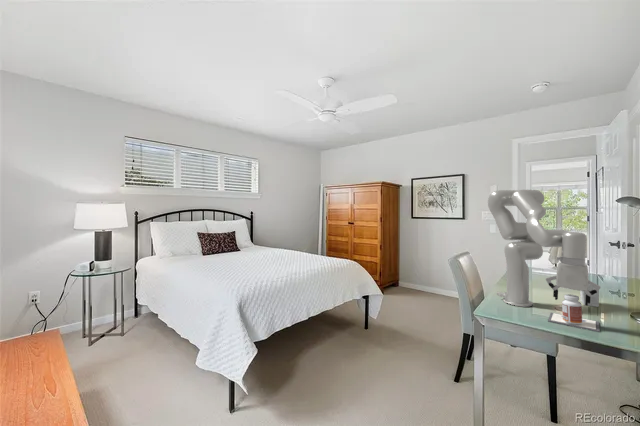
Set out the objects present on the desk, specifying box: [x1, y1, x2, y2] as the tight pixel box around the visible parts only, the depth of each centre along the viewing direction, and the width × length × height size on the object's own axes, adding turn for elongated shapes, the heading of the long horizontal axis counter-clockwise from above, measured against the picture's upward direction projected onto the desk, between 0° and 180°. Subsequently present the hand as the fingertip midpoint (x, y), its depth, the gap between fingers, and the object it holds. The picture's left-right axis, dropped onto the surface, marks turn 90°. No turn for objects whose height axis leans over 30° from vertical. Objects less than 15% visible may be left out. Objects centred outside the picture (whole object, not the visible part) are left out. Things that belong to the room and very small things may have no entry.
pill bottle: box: [561, 293, 583, 324], centre depth 122 cm, size 6×6×11 cm
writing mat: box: [547, 312, 601, 333], centre depth 124 cm, size 16×13×1 cm
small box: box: [579, 284, 600, 308], centre depth 147 cm, size 8×6×10 cm
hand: (571, 301), depth 122 cm, fingers open, 9 cm apart
